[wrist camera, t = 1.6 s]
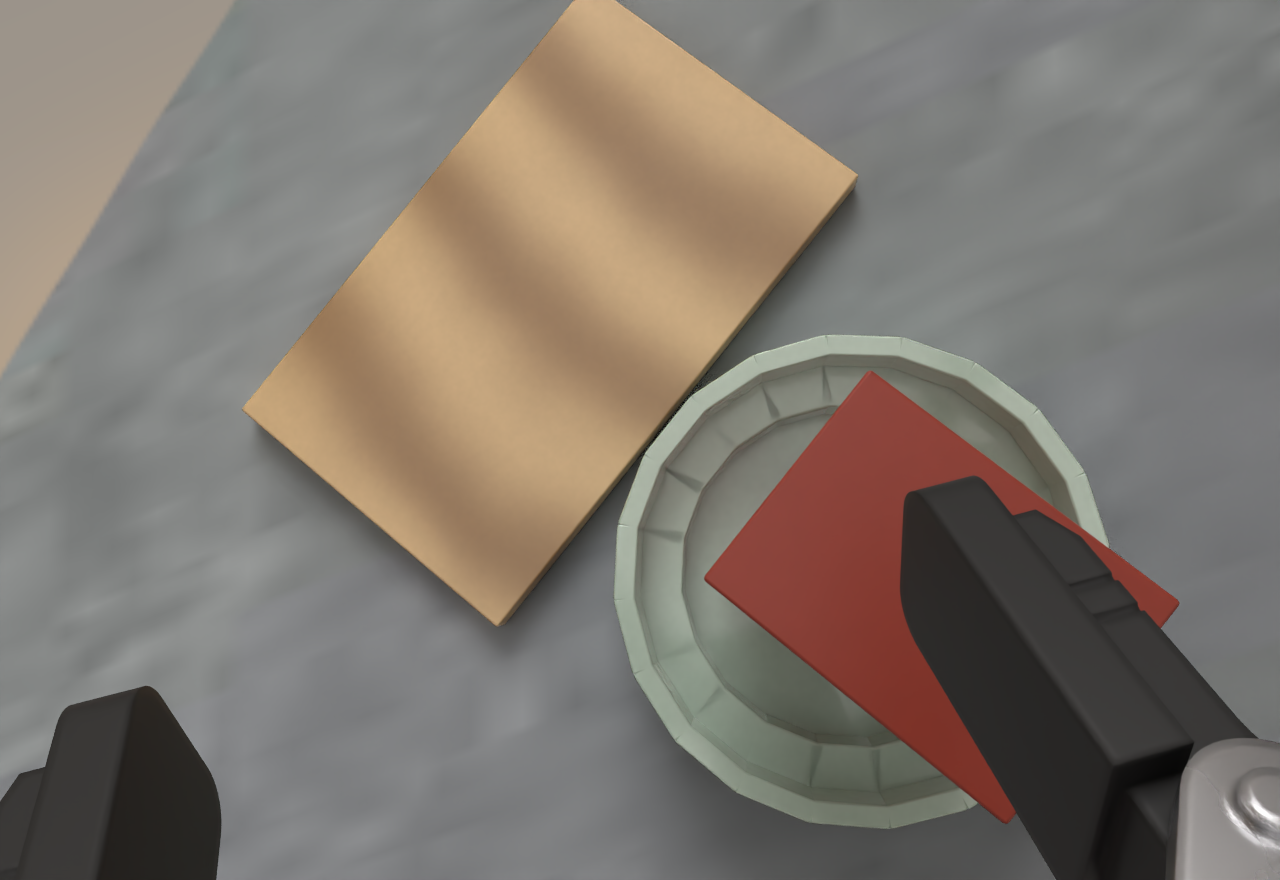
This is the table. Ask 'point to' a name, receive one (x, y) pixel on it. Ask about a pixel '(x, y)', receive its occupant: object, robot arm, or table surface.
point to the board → (548, 301)
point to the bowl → (735, 644)
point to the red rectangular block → (877, 569)
